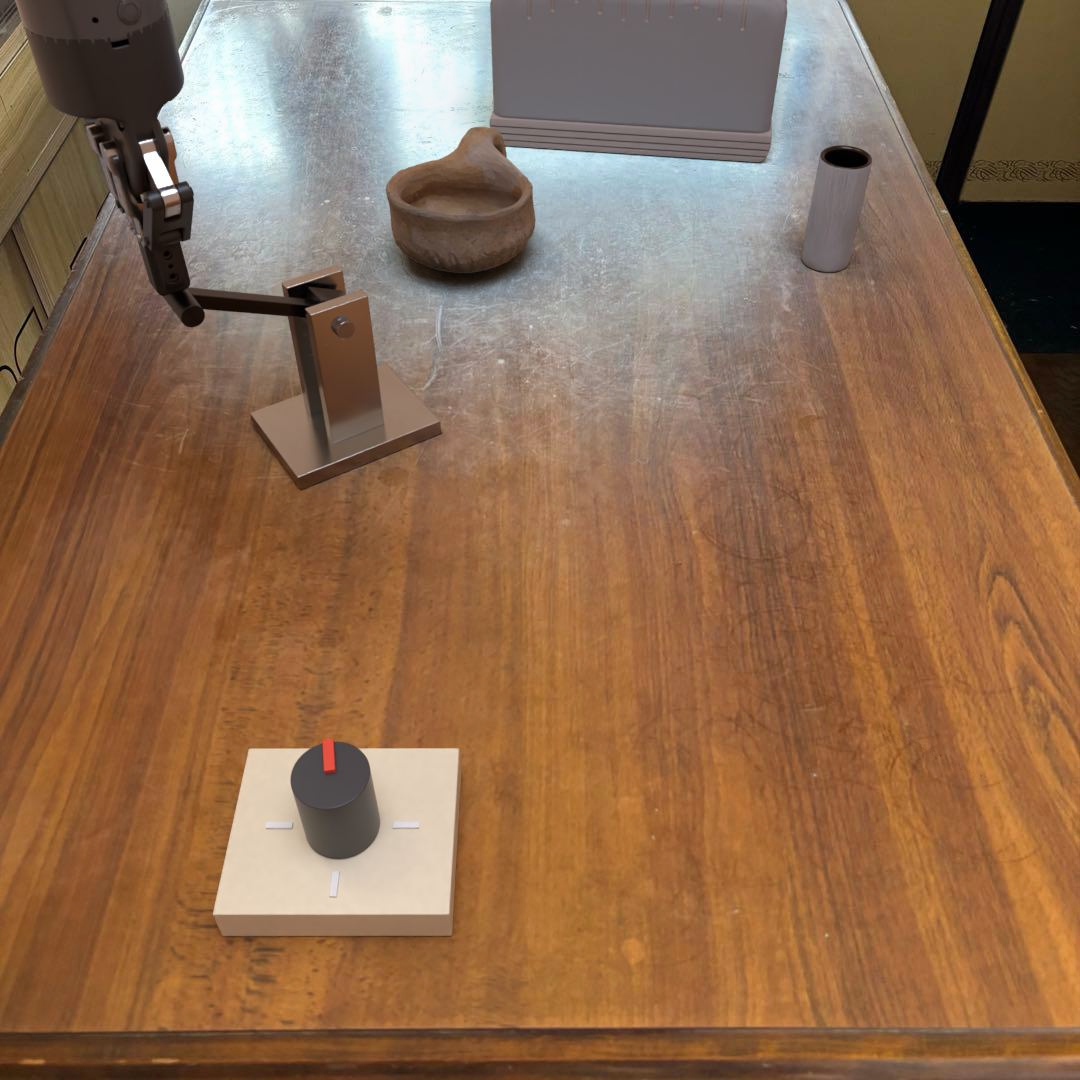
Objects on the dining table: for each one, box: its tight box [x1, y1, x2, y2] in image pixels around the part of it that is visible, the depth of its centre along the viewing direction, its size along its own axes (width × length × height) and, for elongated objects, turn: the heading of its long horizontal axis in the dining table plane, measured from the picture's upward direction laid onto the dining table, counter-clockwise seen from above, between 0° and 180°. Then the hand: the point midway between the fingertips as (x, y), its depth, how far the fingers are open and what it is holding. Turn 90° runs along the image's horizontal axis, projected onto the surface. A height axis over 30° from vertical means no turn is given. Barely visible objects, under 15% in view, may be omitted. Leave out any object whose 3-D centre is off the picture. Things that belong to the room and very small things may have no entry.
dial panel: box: [212, 747, 462, 937], centre depth 60 cm, size 12×10×3 cm
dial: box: [290, 738, 380, 859], centre depth 57 cm, size 4×4×5 cm
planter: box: [800, 144, 873, 273], centre depth 101 cm, size 4×4×10 cm
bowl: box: [385, 126, 536, 274], centre depth 103 cm, size 18×14×10 cm
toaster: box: [489, 0, 788, 163], centre depth 126 cm, size 30×36×18 cm
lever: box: [162, 286, 347, 328], centre depth 75 cm, size 13×6×2 cm, turn 123°
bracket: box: [249, 264, 442, 491], centre depth 82 cm, size 12×9×13 cm
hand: (171, 287), depth 71 cm, fingers closed
